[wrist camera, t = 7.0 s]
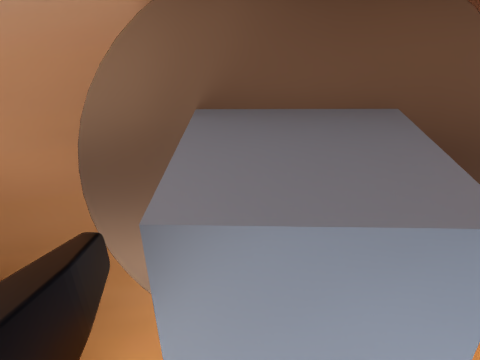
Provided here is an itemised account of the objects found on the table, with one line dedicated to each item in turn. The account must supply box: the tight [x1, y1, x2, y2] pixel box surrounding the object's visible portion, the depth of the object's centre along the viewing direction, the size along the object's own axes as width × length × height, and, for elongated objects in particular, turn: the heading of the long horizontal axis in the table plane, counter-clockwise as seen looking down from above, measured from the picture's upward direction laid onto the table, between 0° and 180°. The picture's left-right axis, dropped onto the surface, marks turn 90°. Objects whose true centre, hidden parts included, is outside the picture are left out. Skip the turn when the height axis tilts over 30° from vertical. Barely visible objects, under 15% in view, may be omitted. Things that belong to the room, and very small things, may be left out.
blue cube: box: [139, 109, 480, 360], centre depth 8 cm, size 5×5×5 cm
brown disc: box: [78, 0, 480, 293], centre depth 11 cm, size 12×12×2 cm
